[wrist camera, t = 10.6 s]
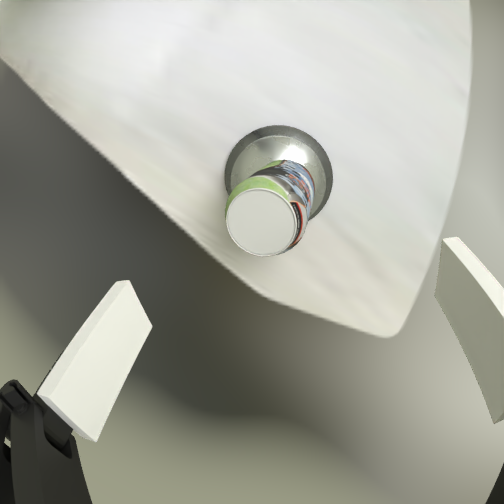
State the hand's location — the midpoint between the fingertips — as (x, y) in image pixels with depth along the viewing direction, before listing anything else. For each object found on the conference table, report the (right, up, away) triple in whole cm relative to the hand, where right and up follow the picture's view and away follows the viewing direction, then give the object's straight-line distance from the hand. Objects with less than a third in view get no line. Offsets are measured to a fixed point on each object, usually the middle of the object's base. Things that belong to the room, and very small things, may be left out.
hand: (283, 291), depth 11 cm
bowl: (+2, +10, +21) cm, 23 cm away
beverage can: (+2, +9, +19) cm, 21 cm away
